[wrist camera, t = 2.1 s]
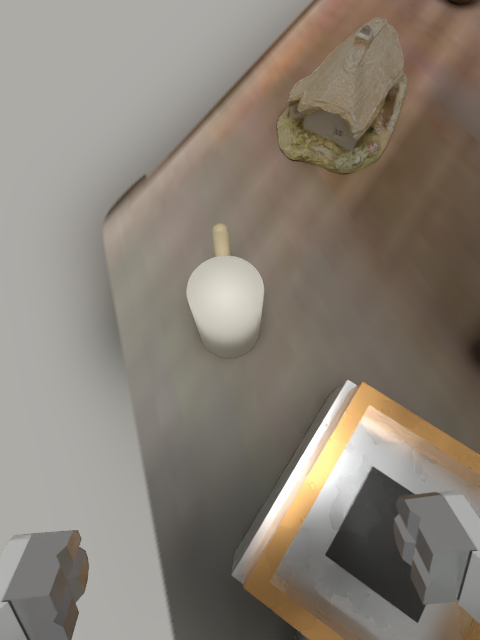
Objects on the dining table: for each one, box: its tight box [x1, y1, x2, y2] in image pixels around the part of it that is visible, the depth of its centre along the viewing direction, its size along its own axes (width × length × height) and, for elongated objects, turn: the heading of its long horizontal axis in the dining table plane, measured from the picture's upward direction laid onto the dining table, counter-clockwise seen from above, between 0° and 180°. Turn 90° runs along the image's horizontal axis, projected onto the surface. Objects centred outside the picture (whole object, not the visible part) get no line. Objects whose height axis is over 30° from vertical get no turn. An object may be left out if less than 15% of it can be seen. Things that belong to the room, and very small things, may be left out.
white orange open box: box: [232, 380, 480, 640], centre depth 25 cm, size 17×14×9 cm
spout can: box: [187, 224, 264, 358], centre depth 32 cm, size 9×5×8 cm, turn 5°
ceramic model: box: [277, 17, 408, 174], centre depth 38 cm, size 14×11×10 cm
